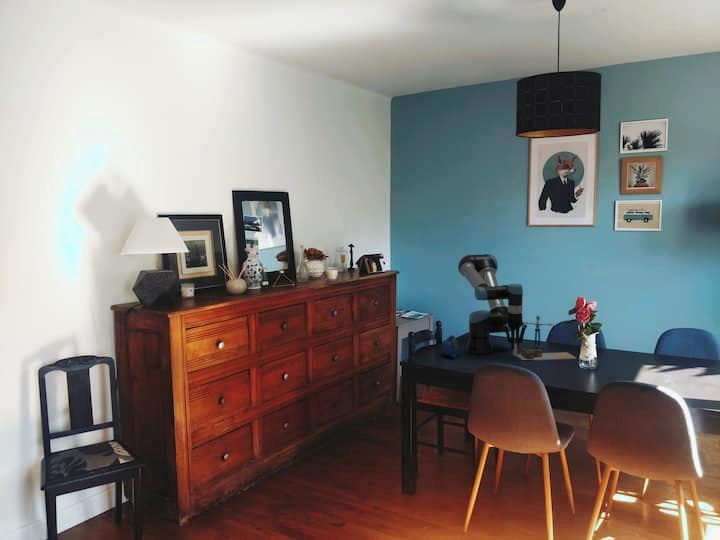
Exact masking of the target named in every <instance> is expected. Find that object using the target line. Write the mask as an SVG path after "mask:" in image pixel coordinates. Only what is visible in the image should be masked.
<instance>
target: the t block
mask: <svg viewBox="0 0 720 540" xmlns="http://www.w3.org/2000/svg"><path fill="white" fill-rule="evenodd" d="M542 353H543V349H541V348H534V349H532V348H531V349H529V348H528V347H527V348H526V347H524V348H523V347H522V348H520V354H521V355H522V356H524V357H525V358H526V359H534V357H542Z"/></svg>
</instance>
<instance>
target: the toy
mask: <svg viewBox="0 0 720 540" xmlns="http://www.w3.org/2000/svg"><path fill="white" fill-rule="evenodd" d="M441 349H442V353H443V354H444V355H445V354H447V355H446V356H449V357H451V358H452V359H453V358H455V359H456V355H458V352H459V350H460V347H459V341H458V340H457V339H456V336H455V335H453V334H452V335H449V336H448V337H447V339H445V340H443V341H442V342H441Z"/></svg>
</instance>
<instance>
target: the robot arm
mask: <svg viewBox="0 0 720 540" xmlns="http://www.w3.org/2000/svg"><path fill="white" fill-rule="evenodd" d="M457 269H458V272H459V274H460V275H461V276H462V277H465V279H466V280H467V281H468V282H469V284H470V286H471V287H472V288H473V289H474V297H475V299H476V300H477V301H483V302H484V301H487V303H488V305H489V310H486V309H485V310H481V309H480V310H476V311H475V310H474V311H473V312H471V313H470V314H469V319H468V335H469V336H468V341H467V345H466V347H465V350H466V351H467V353H468V352H470V353H469V354H471V353H474V354H473V355H478V354H484V355H490V354H493V353H494V347H493V345H492V342H491V337H490V336H491V334H499V333H505V335H506V339H507V340H506V341H507V342H508V343H509V344H510V348H511V349H512V355H513V356H515V357H516V356H517V354H518V350H519V349H520V344H521V343H523V340H524V336H525V334H526V333H525V332H526V329H527V328H528V324H523V322H524V321H523V298H524V297H523V295H524V294H523V292H524V291H523V285H522V284H521V283H510V284H502V285H499V284H498V281H497V278H496V274H497V271H498V269H499V267H498V259H497V258H496V256H495V255H494V254H491V253H484V254H467V255H464V256H463V257H462V258H460V260H459V261H458V266H457ZM504 300H507V306H506V304H505V302H504ZM520 330H521V331H520ZM466 351H465V352H466ZM489 353H490V354H489Z"/></svg>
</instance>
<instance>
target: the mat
mask: <svg viewBox="0 0 720 540" xmlns="http://www.w3.org/2000/svg"><path fill="white" fill-rule="evenodd" d="M517 357H518V359H519V358H520V359H521V360H537V361H555V360H556V361H557V360H559V361H561V360H577V357H575V356H574V355H573V354H571V353H569V352H568V351H566V352H542V357H534V359H526V358H525V357H524V356H522V355H521V353H517ZM517 357H516V358H517ZM520 359H519V360H520ZM521 360H520V361H521Z"/></svg>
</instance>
